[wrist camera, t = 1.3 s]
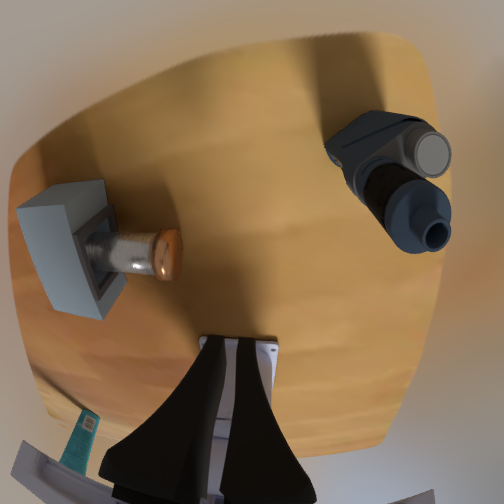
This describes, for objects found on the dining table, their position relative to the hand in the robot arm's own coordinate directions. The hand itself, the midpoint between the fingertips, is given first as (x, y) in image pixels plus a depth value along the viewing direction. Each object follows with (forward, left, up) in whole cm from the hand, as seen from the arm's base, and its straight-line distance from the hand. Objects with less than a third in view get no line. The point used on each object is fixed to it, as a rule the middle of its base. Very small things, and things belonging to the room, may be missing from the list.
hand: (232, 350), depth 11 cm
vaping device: (+8, -7, -11) cm, 15 cm away
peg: (0, +8, -10) cm, 13 cm away
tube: (-49, +38, -11) cm, 63 cm away
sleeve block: (0, +15, -10) cm, 18 cm away
